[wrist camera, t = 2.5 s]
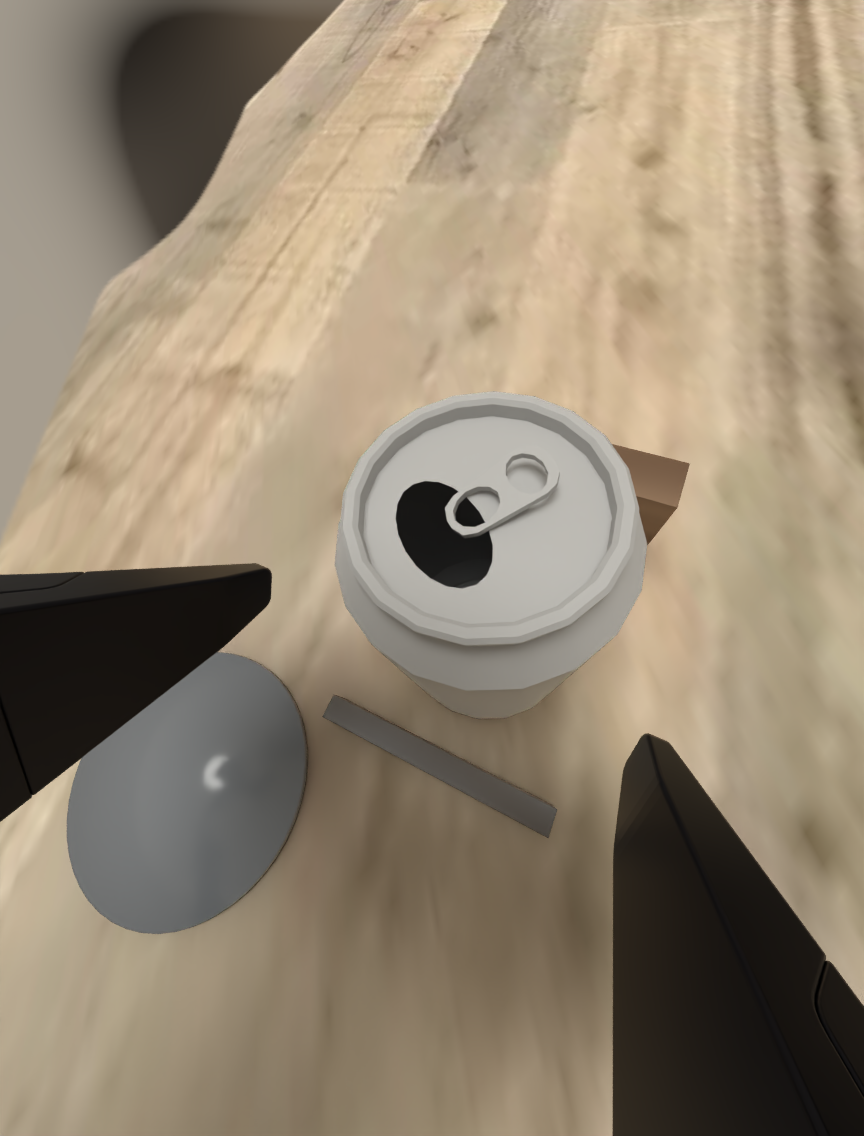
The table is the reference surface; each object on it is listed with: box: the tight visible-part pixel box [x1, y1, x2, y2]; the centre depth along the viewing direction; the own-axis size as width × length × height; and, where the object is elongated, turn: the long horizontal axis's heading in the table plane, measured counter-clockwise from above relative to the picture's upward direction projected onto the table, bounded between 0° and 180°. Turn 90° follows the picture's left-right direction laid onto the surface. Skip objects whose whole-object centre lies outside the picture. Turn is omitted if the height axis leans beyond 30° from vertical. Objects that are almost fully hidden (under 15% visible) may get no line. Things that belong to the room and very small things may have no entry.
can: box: [335, 391, 647, 719], centre depth 14 cm, size 8×8×12 cm
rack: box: [323, 444, 689, 838], centre depth 17 cm, size 14×10×6 cm
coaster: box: [67, 652, 307, 934], centre depth 18 cm, size 11×11×1 cm
